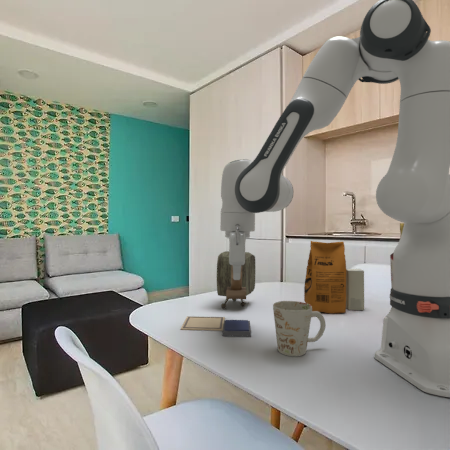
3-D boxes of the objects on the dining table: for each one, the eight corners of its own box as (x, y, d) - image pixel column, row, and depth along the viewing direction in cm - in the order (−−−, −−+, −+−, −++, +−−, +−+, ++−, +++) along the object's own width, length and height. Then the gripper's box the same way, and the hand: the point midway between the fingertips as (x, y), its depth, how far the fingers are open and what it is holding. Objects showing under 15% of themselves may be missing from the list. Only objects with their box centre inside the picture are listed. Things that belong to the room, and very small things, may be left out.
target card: (223, 330, 86) (223, 329, 86) (180, 329, 86) (180, 328, 86) (224, 318, 97) (224, 316, 97) (187, 317, 97) (187, 316, 97)
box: (360, 307, 111) (360, 268, 110) (364, 310, 106) (365, 270, 106) (343, 306, 111) (344, 268, 111) (347, 310, 107) (348, 270, 107)
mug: (265, 346, 75) (266, 302, 75) (312, 340, 80) (313, 298, 80) (285, 361, 67) (285, 312, 67) (336, 353, 72) (336, 306, 72)
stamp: (246, 299, 84) (246, 267, 83) (226, 298, 84) (226, 267, 84) (245, 294, 89) (246, 264, 88) (226, 294, 89) (227, 264, 89)
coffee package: (302, 305, 113) (303, 240, 112) (340, 306, 111) (341, 240, 111) (306, 313, 103) (307, 241, 102) (348, 314, 101) (349, 242, 101)
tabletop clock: (231, 299, 119) (232, 229, 119) (255, 302, 116) (256, 230, 116) (216, 309, 106) (217, 230, 106) (243, 312, 103) (244, 231, 102)
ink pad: (251, 336, 81) (251, 330, 81) (222, 336, 82) (222, 330, 82) (249, 325, 90) (249, 319, 90) (223, 324, 91) (224, 319, 91)
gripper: (251, 225, 75) (250, 286, 76) (248, 223, 96) (247, 271, 96) (223, 225, 75) (222, 286, 76) (226, 223, 96) (225, 271, 96)
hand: (236, 278), depth 86 cm, fingers closed on stamp, 3 cm apart
